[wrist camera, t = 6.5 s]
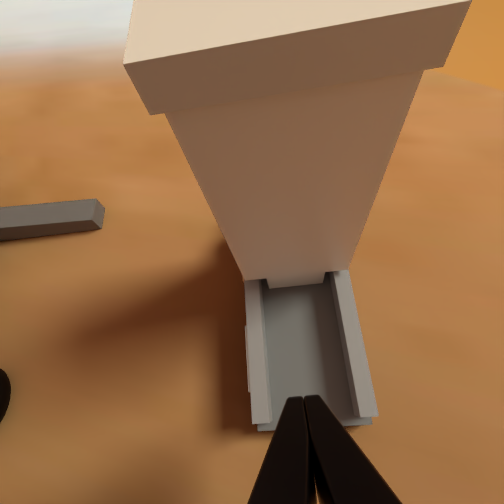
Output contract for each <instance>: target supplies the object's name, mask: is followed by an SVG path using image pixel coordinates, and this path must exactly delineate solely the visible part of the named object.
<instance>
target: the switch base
mask: <svg viewBox="0 0 504 504" xmlns="http://www.w3.org/2000/svg"><path fill="white" fill-rule="evenodd" d="M242 281H243V283H244V286H245V304H246V322H247V326H245V337H246V356H247V374H248V392H250V393H251V411H252V424H257V428H258V431H271V430H275V429H276V426H277V423H278V421H279V418H280V415H281V413H282V410H283V407H284V405H285V402H286V400H287V398H288V397H294V396H302V397H303V399H304V396H306V395H316V394H318V395H320V396H321V398H322V399H323V400H324V401H325V403H326V404H327V405H328V407H329V408H330V409H331V411H332V412H333V413H334V415H335V416H336V417H337V419H338V420H339V421H340V422H341V424H342V425H343V426H355V425H372V419H371V417H375V416H379V415H378V410H377V405H376V400H375V395H374V391H373V386H372V381H371V376H370V371H369V367H368V362H367V357H366V352H365V347H364V343H363V338H362V333H361V328H360V323H359V319H358V314H357V309H356V304H355V299H354V295H353V290H352V285H351V280H350V275H349V271H348V270H339V271H330V272H325V275H324V280H323V283H319V284H309V285H300V286H290V287H281V288H271V289H269V286H268V283H267V279H266V278H265V279H256V280H247V281H245V280H244V278H243V275H242Z"/></svg>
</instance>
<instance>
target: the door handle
mask: <svg viewBox="0 0 504 504" xmlns="http://www.w3.org/2000/svg"><path fill="white" fill-rule="evenodd" d="M104 212H105V208H104V207H103V206H102V205H101V204H100V202H99V201H98V200H97V199H86V200H75V201H65V202H54V203H43V204H32V205H21V206H10V207H0V241H4V240H14V239H22V238H30V237H39V236H47V235H55V234H63V233H71V232H80V231H88V230H96V229H102V224H103V218H104ZM10 394H11V386H10V381H9V378H8V376H7V374H6V373H5V372H4V371H3V370H2V369H0V422H1V420H2V419H3V417H4V415H5V413H6V410H7V408H8V405H9V401H10Z"/></svg>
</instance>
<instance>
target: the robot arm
mask: <svg viewBox="0 0 504 504" xmlns="http://www.w3.org/2000/svg"><path fill="white" fill-rule="evenodd" d="M314 477H315V478H314ZM315 484H316V487H315ZM316 490H317V495H318V499H319V504H402V502H401V501H400V500H399V499H398V497H397V496H396V495H395V493H394V492H393V491H392V489H391V488H390V487H389V485H388V484H387V483H386V481H385V480H384V479H383V478H382V476H381V475H380V474H379V472H378V471H377V470H376V468H375V467H374V466H373V464H372V463H371V462H370V460H369V459H368V458H367V457H366V455H365V454H364V453H363V451H362V450H361V449H360V447H359V446H358V445H357V443H356V442H355V441H354V440H353V438H352V437H351V436H350V434H349V433H348V432H347V430H346V429H345V428H344V426H343V425H342V424H341V422H340V421H339V420H338V419H337V417H336V416H335V415H334V413H333V412H332V411H331V409H330V408H329V407H328V405H327V404H326V403H325V401H324V400H323V399H322V398H321V396H320V395H318V394H316V395H306V396H304V399H303V397H302V396H294V397H288V398H287V400H286V402H285V405H284V407H283V410H282V413H281V415H280V418H279V421H278V423H277V426H276V429H275V431H274V434H273V437H272V439H271V442H270V445H269V447H268V450H267V453H266V455H265V458H264V461H263V463H262V466H261V469H260V471H259V474H258V477H257V479H256V482H255V485H254V487H253V490H252V493H251V495H250V498H249V501H248V503H247V504H317V496H316Z"/></svg>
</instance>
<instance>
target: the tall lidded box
mask: <svg viewBox="0 0 504 504" xmlns="http://www.w3.org/2000/svg"><path fill="white" fill-rule="evenodd" d="M471 2H472V0H134V1H133V7H132V13H131V19H130V25H129V31H128V37H127V43H126V48H125V54H124V60H123V65H124V67H125V69H126V71H127V73H128V75H129V77H130V78H131V80H132V82H133V84H134V86H135V88H136V90H137V92H138V93H139V95H140V97H141V99H142V101H143V103H144V105H145V107H146V108H147V110H148V112H149V114H150V115H155V114H161V113H165V115H166V117H167V119H168V121H169V123H170V125H171V128H172V130H173V132H174V134H175V136H176V138H177V140H178V142H179V144H180V146H181V148H182V150H183V153H184V155H185V157H186V159H187V161H188V163H189V165H190V167H191V169H192V171H193V173H194V175H195V178H196V180H197V182H198V184H199V186H200V188H201V190H202V192H203V194H204V196H205V198H206V200H207V203H208V205H209V207H210V209H211V211H212V213H213V215H214V217H215V219H216V221H217V223H218V225H219V228H220V230H221V232H222V234H223V236H224V238H225V240H226V242H227V244H228V246H229V248H230V250H231V253H232V255H233V257H234V259H235V261H236V263H237V265H238V267H239V269H240V271H241V273H242V275H243V278H244V280H245V281H247V280H256V279H265V278H266V279H267V283H268V286H269V289H271V288H281V287H290V286H300V285H309V284H319V283H323V280H324V275H325V272H330V271H339V270H348V268H349V265H350V263H351V260H352V257H353V255H354V252H355V250H356V247H357V244H358V242H359V239H360V236H361V234H362V231H363V229H364V226H365V223H366V221H367V218H368V215H369V213H370V210H371V208H372V205H373V202H374V200H375V197H376V194H377V192H378V189H379V187H380V184H381V181H382V179H383V176H384V174H385V171H386V168H387V166H388V163H389V160H390V158H391V155H392V153H393V150H394V147H395V145H396V142H397V139H398V137H399V134H400V132H401V129H402V126H403V124H404V121H405V119H406V116H407V113H408V111H409V108H410V105H411V103H412V100H413V98H414V95H415V92H416V90H417V87H418V84H419V82H420V79H421V77H422V74H423V71H424V70H427V69H433V68H439V67H443V66H444V64H445V61H446V59H447V57H448V55H449V52H450V50H451V48H452V45H453V43H454V41H455V38H456V36H457V34H458V32H459V29H460V27H461V25H462V22H463V20H464V18H465V16H466V13H467V11H468V9H469V6H470V4H471Z"/></svg>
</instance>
